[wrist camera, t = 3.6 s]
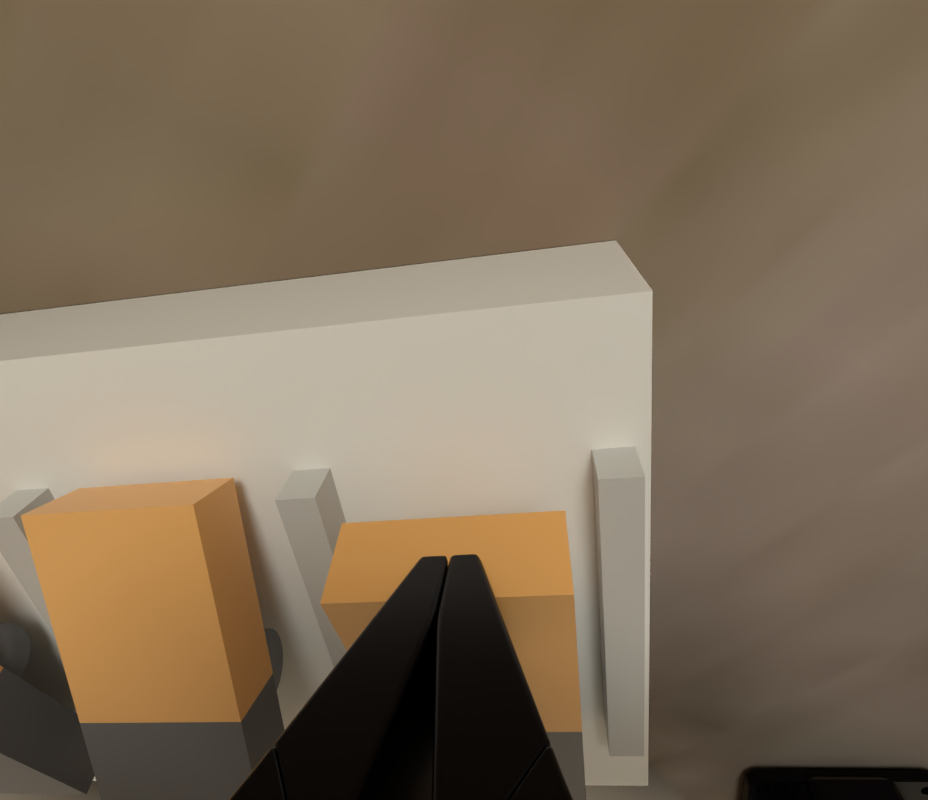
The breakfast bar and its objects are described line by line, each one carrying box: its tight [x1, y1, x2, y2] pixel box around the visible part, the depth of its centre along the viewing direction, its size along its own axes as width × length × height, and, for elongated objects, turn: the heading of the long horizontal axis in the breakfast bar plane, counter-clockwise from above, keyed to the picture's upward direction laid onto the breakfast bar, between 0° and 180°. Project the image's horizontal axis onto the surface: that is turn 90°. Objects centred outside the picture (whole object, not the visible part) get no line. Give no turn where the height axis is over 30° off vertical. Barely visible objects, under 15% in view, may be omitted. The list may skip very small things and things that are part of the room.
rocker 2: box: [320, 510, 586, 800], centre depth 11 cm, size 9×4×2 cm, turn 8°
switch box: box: [0, 241, 652, 786], centre depth 15 cm, size 14×20×5 cm
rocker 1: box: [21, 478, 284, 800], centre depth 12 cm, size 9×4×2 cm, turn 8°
